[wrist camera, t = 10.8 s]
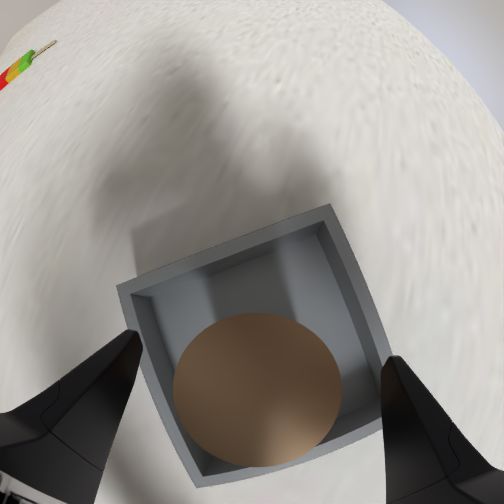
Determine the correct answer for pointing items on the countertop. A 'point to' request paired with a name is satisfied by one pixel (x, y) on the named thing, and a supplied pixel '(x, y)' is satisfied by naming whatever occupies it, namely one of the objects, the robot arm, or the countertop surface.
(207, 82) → the countertop surface
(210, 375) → the walnut cylinder
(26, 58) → the popsicle
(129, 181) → the countertop surface
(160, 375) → the tote
